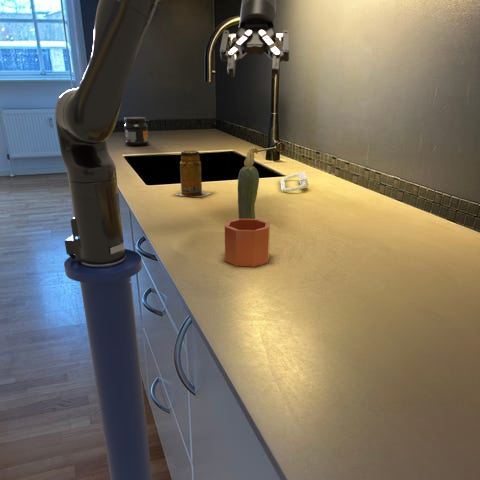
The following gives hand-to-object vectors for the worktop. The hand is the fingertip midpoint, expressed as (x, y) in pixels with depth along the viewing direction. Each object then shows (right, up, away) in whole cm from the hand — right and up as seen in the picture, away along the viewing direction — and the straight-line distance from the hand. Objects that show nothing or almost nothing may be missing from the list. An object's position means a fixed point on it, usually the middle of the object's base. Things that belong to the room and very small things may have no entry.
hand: (252, 74), depth 104 cm
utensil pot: (-1, -38, -3) cm, 38 cm away
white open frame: (+14, -9, +56) cm, 58 cm away
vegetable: (-1, -34, +6) cm, 34 cm away
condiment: (-16, -13, +46) cm, 51 cm away
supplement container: (-50, +31, +134) cm, 147 cm away
